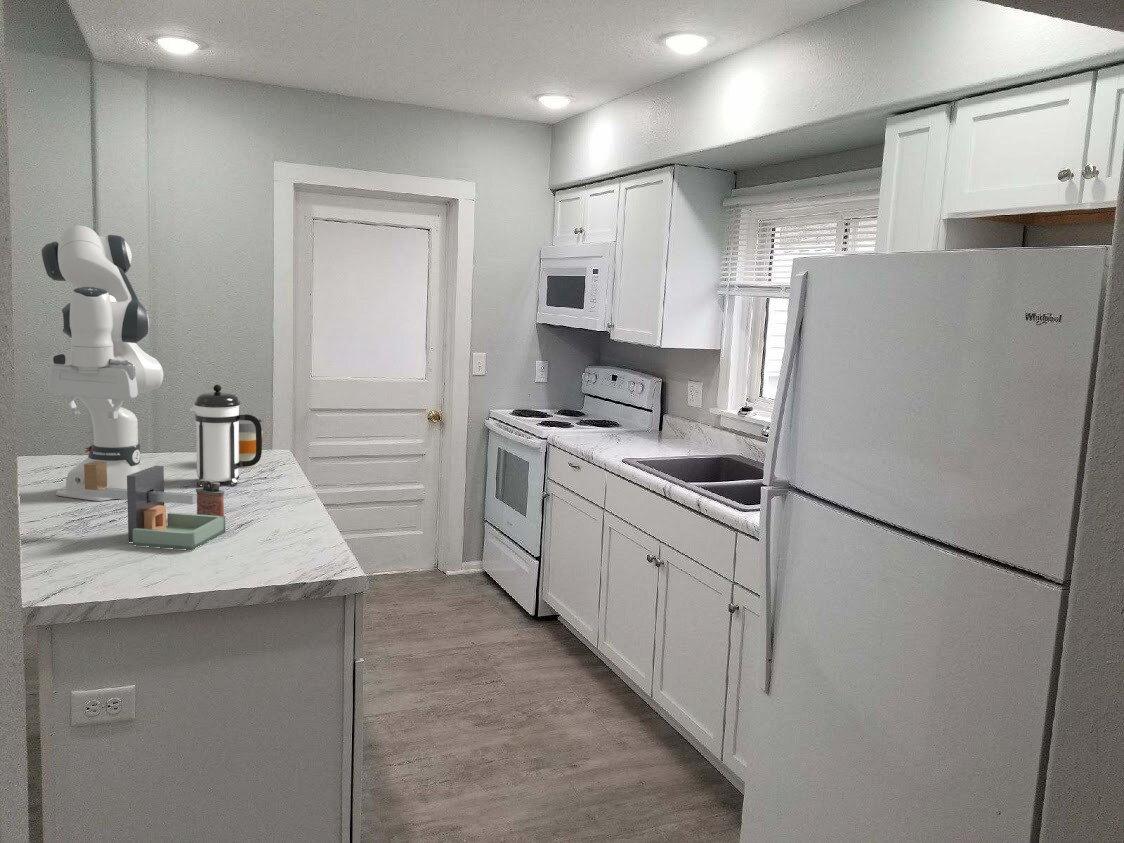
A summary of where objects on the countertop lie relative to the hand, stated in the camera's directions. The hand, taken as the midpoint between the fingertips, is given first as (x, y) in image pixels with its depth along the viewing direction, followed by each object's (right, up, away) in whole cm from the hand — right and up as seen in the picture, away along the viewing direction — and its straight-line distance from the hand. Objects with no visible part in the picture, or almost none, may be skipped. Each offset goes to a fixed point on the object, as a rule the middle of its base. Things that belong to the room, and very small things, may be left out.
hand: (94, 416), depth 205 cm
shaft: (+10, -20, +2) cm, 22 cm away
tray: (+19, -29, +2) cm, 35 cm away
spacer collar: (+13, -28, +3) cm, 31 cm away
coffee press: (+7, -20, +61) cm, 65 cm away
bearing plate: (+11, -29, +3) cm, 31 cm away
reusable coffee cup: (+4, -16, +86) cm, 88 cm away
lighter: (+19, -26, +21) cm, 39 cm away
